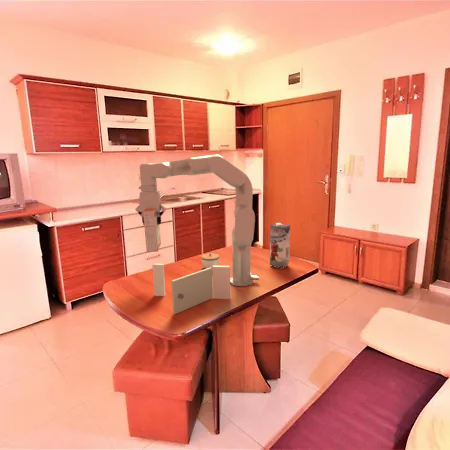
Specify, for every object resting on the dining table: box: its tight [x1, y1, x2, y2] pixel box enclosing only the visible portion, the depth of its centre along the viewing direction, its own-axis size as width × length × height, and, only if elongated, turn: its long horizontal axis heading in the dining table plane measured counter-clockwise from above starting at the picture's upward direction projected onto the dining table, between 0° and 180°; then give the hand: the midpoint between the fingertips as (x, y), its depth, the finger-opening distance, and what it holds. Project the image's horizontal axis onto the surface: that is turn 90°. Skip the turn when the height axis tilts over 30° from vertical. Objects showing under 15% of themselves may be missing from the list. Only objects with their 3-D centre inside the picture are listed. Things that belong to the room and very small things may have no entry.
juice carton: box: [269, 222, 291, 269], centre depth 190 cm, size 9×10×27 cm
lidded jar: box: [201, 252, 220, 271], centre depth 190 cm, size 11×11×9 cm
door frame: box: [152, 263, 231, 300], centre depth 152 cm, size 37×2×16 cm, turn 83°
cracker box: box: [143, 209, 162, 253], centre depth 161 cm, size 14×6×21 cm, turn 5°
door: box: [171, 267, 214, 315], centre depth 142 cm, size 22×3×15 cm, turn 134°
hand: (152, 223), depth 161 cm, fingers closed on cracker box, 6 cm apart
